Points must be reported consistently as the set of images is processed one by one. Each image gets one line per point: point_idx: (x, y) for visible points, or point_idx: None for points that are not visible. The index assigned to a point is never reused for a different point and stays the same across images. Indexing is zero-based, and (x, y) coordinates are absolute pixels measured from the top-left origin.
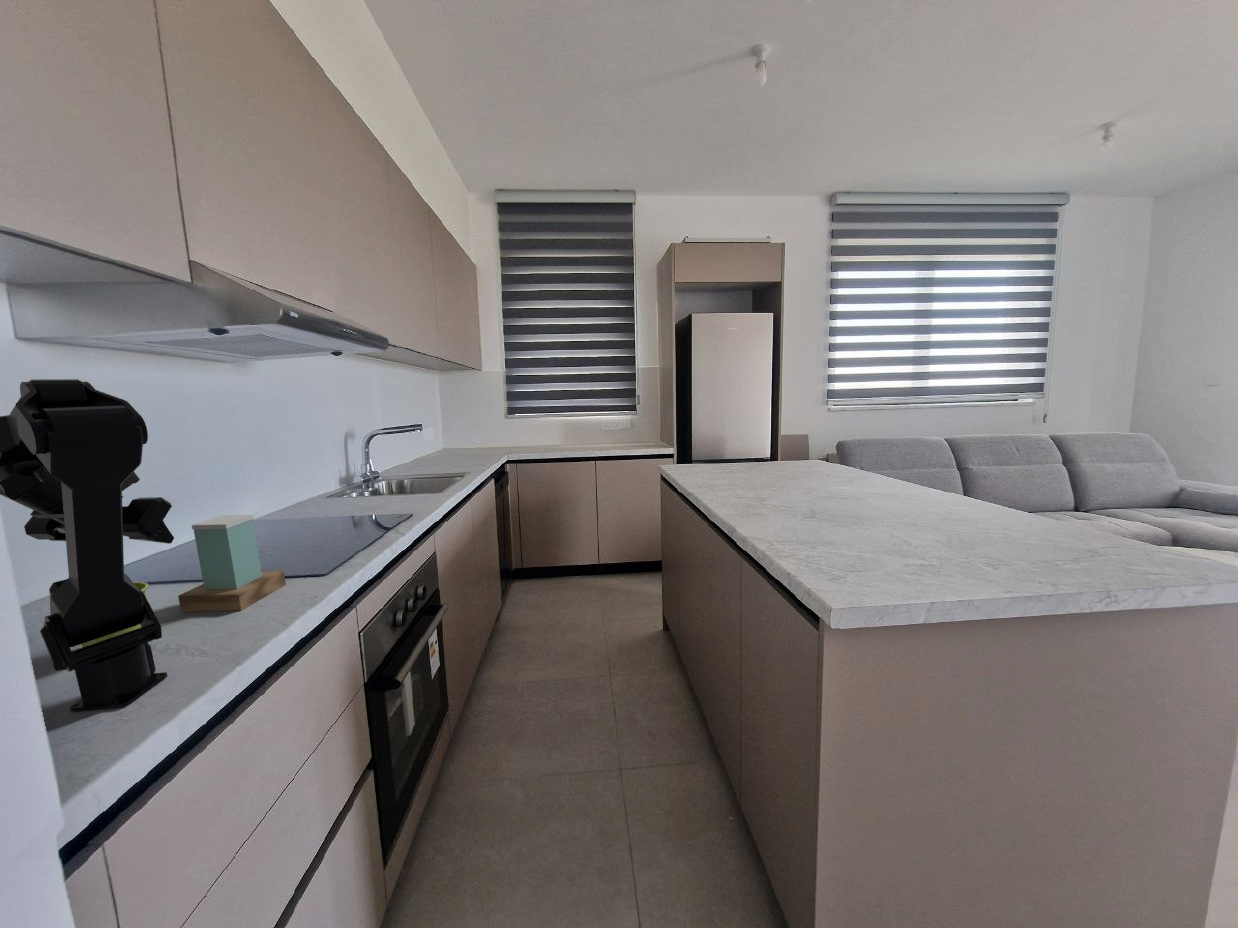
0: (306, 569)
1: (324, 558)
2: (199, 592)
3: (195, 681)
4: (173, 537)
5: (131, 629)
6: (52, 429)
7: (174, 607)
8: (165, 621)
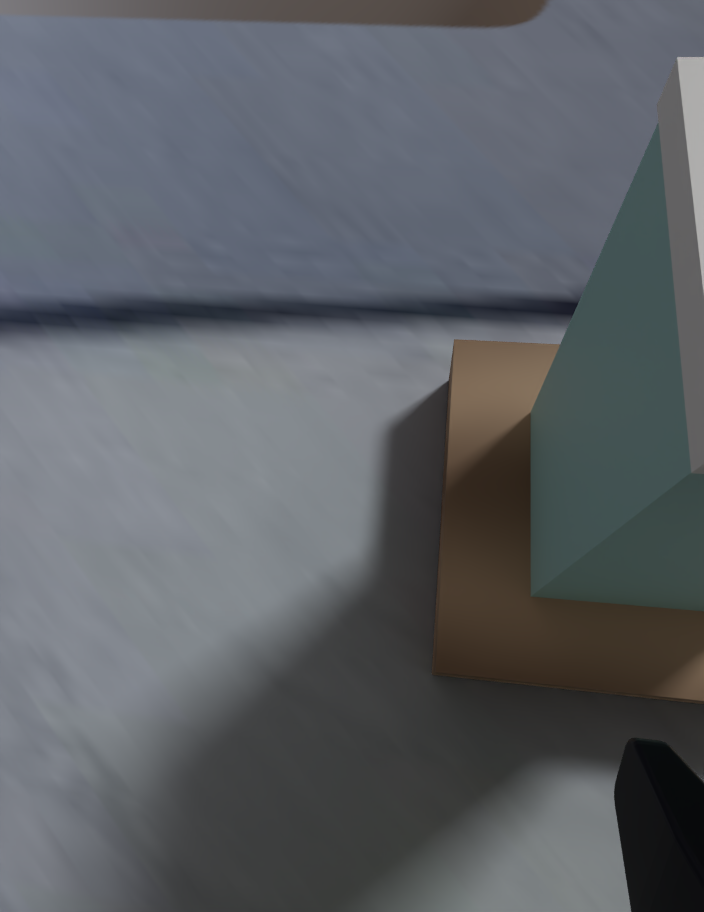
0: None
1: None
2: (533, 638)
3: None
4: (678, 761)
5: None
6: None
7: (352, 616)
8: (446, 797)
